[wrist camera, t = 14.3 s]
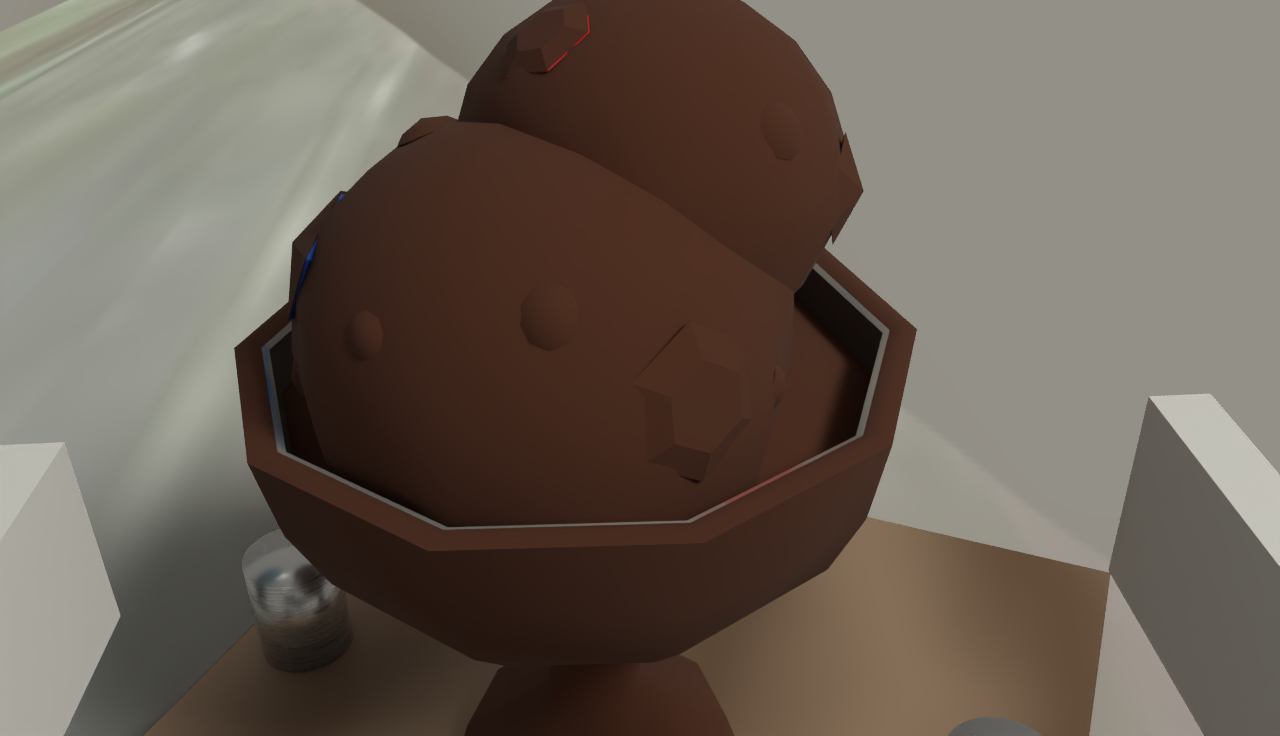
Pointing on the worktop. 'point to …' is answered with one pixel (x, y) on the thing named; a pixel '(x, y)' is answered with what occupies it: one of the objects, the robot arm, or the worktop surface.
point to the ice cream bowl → (586, 364)
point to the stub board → (704, 652)
